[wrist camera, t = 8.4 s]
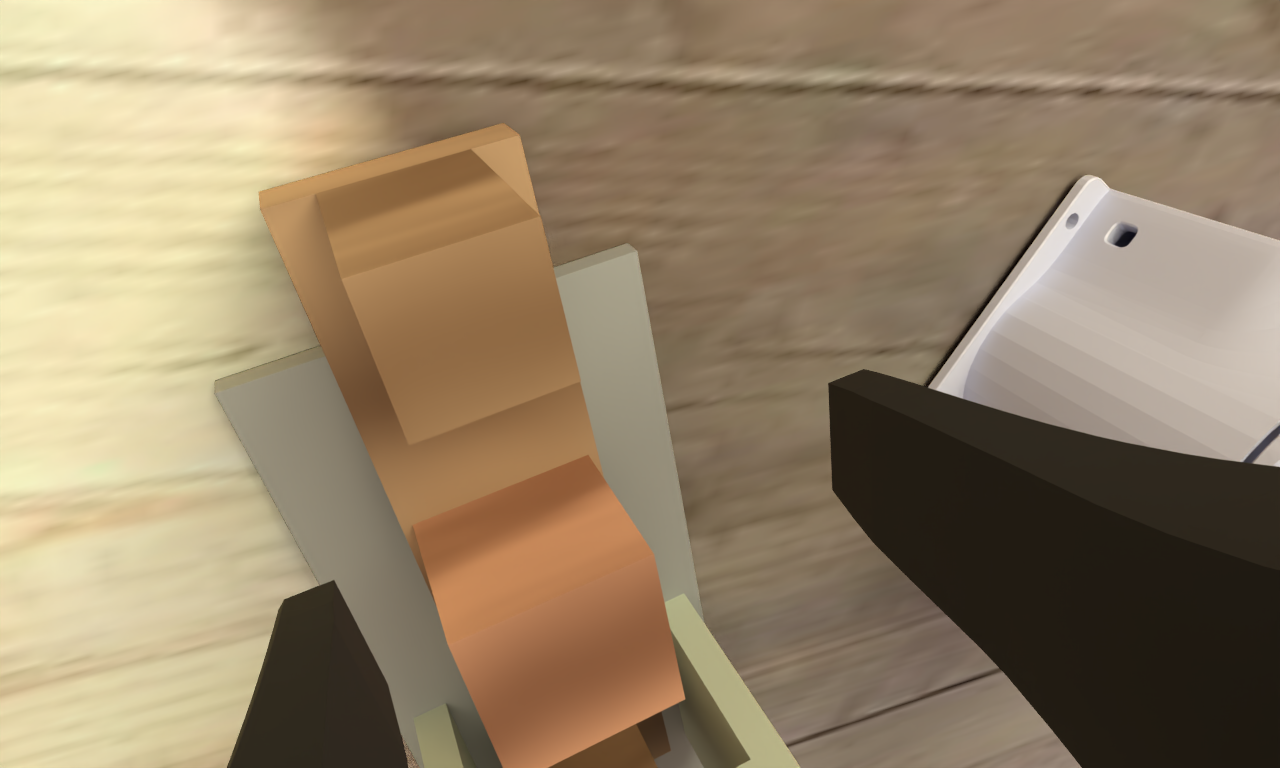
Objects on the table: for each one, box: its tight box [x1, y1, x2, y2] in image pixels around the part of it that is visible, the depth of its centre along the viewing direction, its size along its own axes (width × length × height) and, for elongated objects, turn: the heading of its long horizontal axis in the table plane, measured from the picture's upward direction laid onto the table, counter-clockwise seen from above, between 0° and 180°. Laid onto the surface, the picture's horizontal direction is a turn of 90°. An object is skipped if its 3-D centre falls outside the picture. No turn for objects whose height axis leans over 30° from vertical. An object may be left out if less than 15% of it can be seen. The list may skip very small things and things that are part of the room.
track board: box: [215, 243, 704, 768], centre depth 28 cm, size 31×10×1 cm, turn 10°
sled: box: [259, 123, 685, 768], centre depth 20 cm, size 21×5×6 cm, turn 10°
